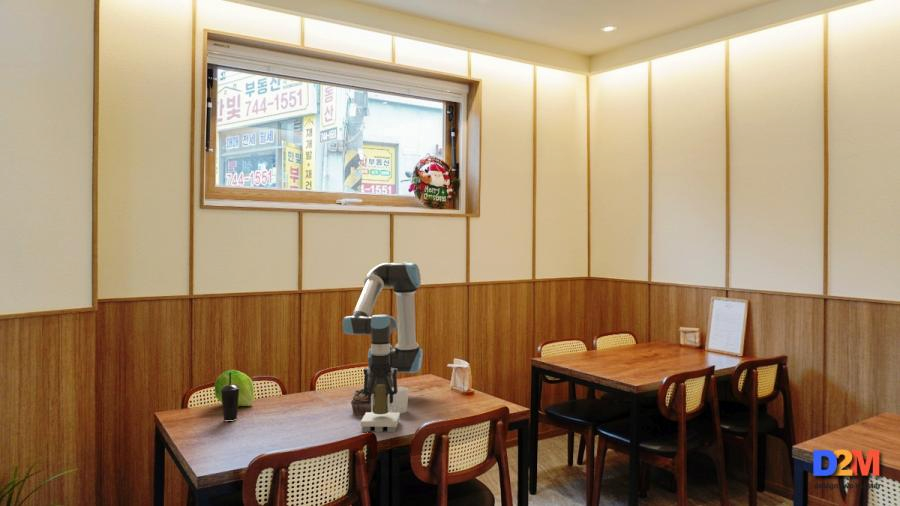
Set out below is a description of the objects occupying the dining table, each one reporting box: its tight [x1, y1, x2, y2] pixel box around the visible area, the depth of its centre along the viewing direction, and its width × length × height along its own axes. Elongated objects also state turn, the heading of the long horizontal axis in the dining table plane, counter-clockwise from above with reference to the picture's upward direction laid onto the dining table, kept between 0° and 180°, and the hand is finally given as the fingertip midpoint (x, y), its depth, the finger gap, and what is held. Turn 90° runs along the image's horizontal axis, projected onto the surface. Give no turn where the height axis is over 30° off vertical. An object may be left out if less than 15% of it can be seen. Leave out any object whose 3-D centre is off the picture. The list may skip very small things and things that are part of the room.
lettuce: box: [214, 369, 255, 407], centre depth 261 cm, size 17×20×16 cm
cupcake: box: [350, 388, 371, 416], centre depth 250 cm, size 10×10×10 cm
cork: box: [373, 384, 388, 414], centre depth 230 cm, size 6×6×11 cm
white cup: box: [390, 386, 409, 415], centre depth 251 cm, size 8×8×10 cm
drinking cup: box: [220, 372, 240, 421], centre depth 239 cm, size 8×8×20 cm
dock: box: [360, 411, 401, 433], centre depth 230 cm, size 12×14×4 cm
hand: (380, 411), depth 230 cm, fingers closed on cork, 6 cm apart
